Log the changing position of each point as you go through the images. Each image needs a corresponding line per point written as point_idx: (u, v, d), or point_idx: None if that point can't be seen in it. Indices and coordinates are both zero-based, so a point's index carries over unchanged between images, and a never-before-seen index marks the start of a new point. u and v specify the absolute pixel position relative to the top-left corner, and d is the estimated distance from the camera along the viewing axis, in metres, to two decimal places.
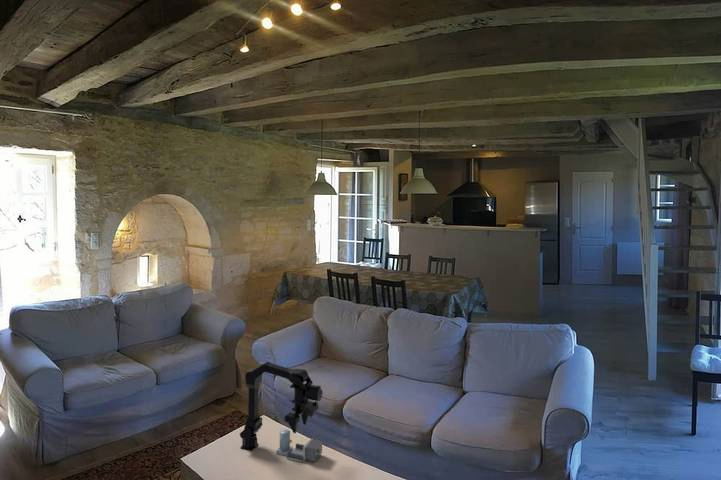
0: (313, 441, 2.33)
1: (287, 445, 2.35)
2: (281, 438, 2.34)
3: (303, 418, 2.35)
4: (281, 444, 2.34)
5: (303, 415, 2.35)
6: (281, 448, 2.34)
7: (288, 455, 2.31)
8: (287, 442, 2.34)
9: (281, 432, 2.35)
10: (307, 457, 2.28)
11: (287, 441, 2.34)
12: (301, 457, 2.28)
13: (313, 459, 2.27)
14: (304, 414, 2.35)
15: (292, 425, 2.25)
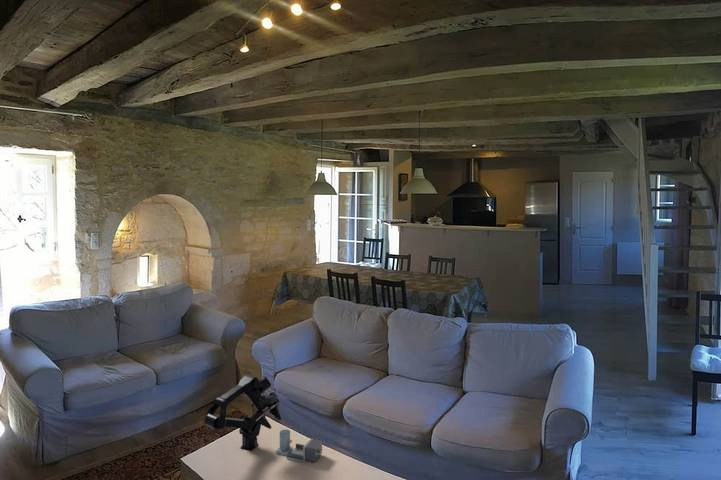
0: (313, 441, 2.33)
1: (287, 445, 2.35)
2: (281, 438, 2.34)
3: (276, 415, 2.42)
4: (281, 444, 2.34)
5: (274, 413, 2.43)
6: (281, 448, 2.34)
7: (288, 455, 2.31)
8: (287, 442, 2.34)
9: (281, 432, 2.35)
10: (307, 457, 2.28)
11: (287, 441, 2.34)
12: (301, 457, 2.28)
13: (313, 459, 2.27)
14: (274, 412, 2.43)
15: (263, 422, 2.33)
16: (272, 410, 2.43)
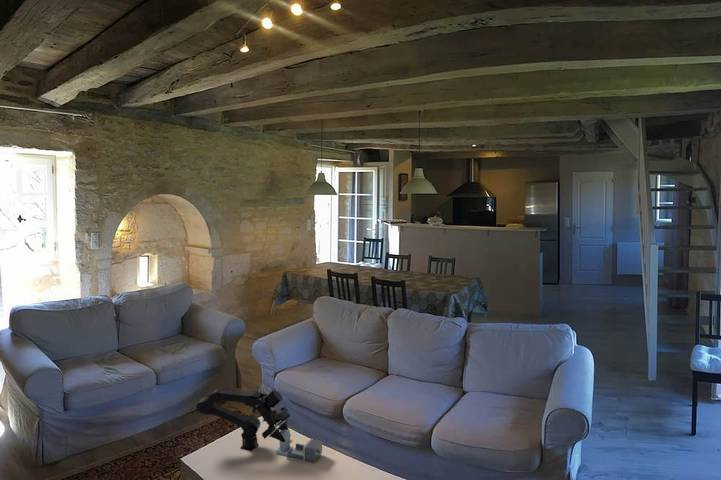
0: (313, 441, 2.33)
1: (287, 445, 2.35)
2: None
3: None
4: (281, 444, 2.34)
5: None
6: (281, 448, 2.34)
7: (288, 455, 2.31)
8: (287, 442, 2.34)
9: (281, 432, 2.35)
10: (307, 457, 2.28)
11: (287, 441, 2.34)
12: (301, 457, 2.28)
13: (313, 459, 2.27)
14: (283, 428, 2.39)
15: (277, 436, 2.33)
16: (281, 427, 2.40)
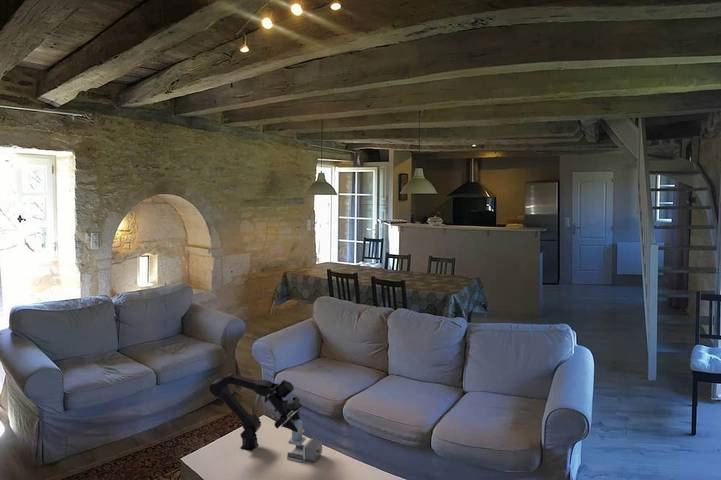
0: (313, 441, 2.33)
1: (299, 435, 2.32)
2: None
3: None
4: (293, 434, 2.32)
5: None
6: (293, 438, 2.32)
7: (288, 455, 2.31)
8: (299, 432, 2.32)
9: (293, 422, 2.33)
10: (307, 457, 2.28)
11: (299, 431, 2.32)
12: (301, 457, 2.28)
13: (313, 459, 2.27)
14: (295, 418, 2.37)
15: (289, 426, 2.30)
16: (293, 417, 2.37)
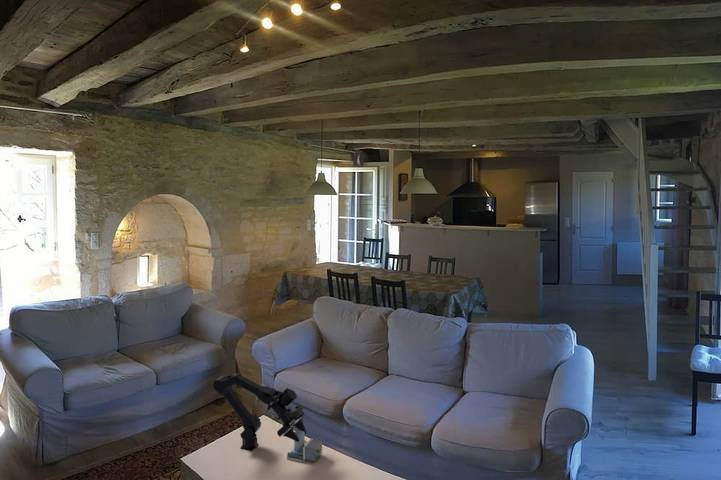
0: (313, 441, 2.33)
1: (302, 446, 2.32)
2: None
3: (301, 429, 2.37)
4: (296, 445, 2.32)
5: (299, 427, 2.38)
6: (296, 449, 2.32)
7: (288, 455, 2.31)
8: (302, 443, 2.32)
9: (296, 433, 2.33)
10: (307, 457, 2.28)
11: (302, 442, 2.32)
12: (301, 457, 2.28)
13: (313, 459, 2.27)
14: (299, 425, 2.38)
15: (291, 435, 2.29)
16: (297, 424, 2.38)
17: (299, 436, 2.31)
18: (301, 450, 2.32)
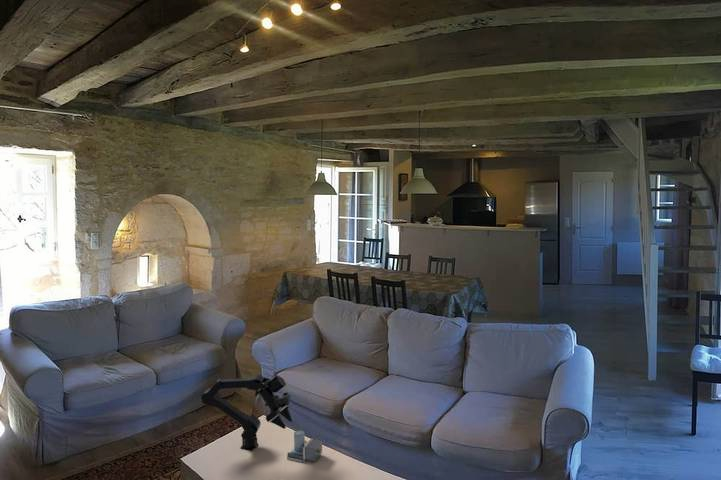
0: (313, 441, 2.33)
1: (302, 446, 2.32)
2: (296, 439, 2.31)
3: (286, 417, 2.41)
4: (296, 445, 2.32)
5: (285, 414, 2.41)
6: (296, 449, 2.32)
7: (288, 455, 2.31)
8: (302, 443, 2.32)
9: (296, 433, 2.33)
10: (307, 457, 2.28)
11: (302, 442, 2.32)
12: (301, 457, 2.28)
13: (313, 459, 2.27)
14: (285, 413, 2.41)
15: (278, 422, 2.30)
16: (283, 411, 2.41)
17: (299, 436, 2.31)
18: (301, 450, 2.32)
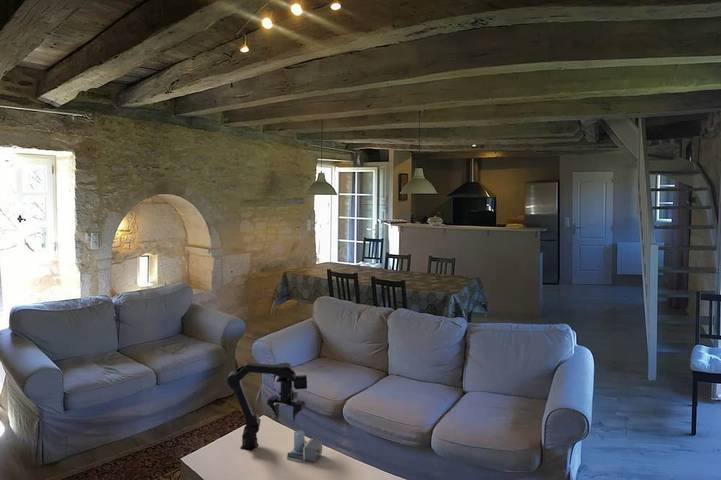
0: (313, 441, 2.33)
1: (302, 446, 2.32)
2: (296, 439, 2.31)
3: (277, 413, 2.42)
4: (296, 445, 2.32)
5: (276, 410, 2.42)
6: (296, 449, 2.32)
7: (288, 455, 2.31)
8: (302, 443, 2.32)
9: (296, 433, 2.33)
10: (307, 457, 2.28)
11: (302, 442, 2.32)
12: (301, 457, 2.28)
13: (313, 459, 2.27)
14: (277, 408, 2.43)
15: (296, 414, 2.39)
16: (276, 406, 2.42)
17: (299, 436, 2.31)
18: (301, 450, 2.32)
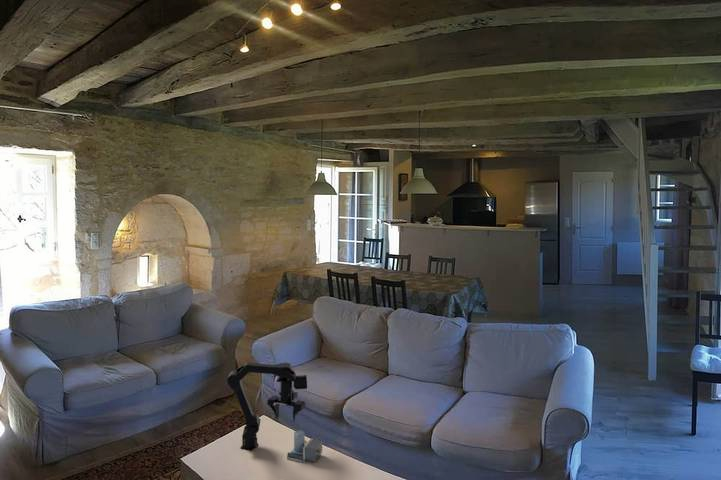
0: (313, 441, 2.33)
1: (302, 446, 2.32)
2: (296, 439, 2.31)
3: (277, 413, 2.42)
4: (296, 445, 2.32)
5: (276, 410, 2.42)
6: (296, 449, 2.32)
7: (288, 455, 2.31)
8: (302, 443, 2.32)
9: (296, 433, 2.33)
10: (307, 457, 2.28)
11: (302, 442, 2.32)
12: (301, 457, 2.28)
13: (313, 459, 2.27)
14: (277, 408, 2.43)
15: (296, 414, 2.39)
16: (276, 406, 2.42)
17: (299, 436, 2.31)
18: (301, 450, 2.32)
